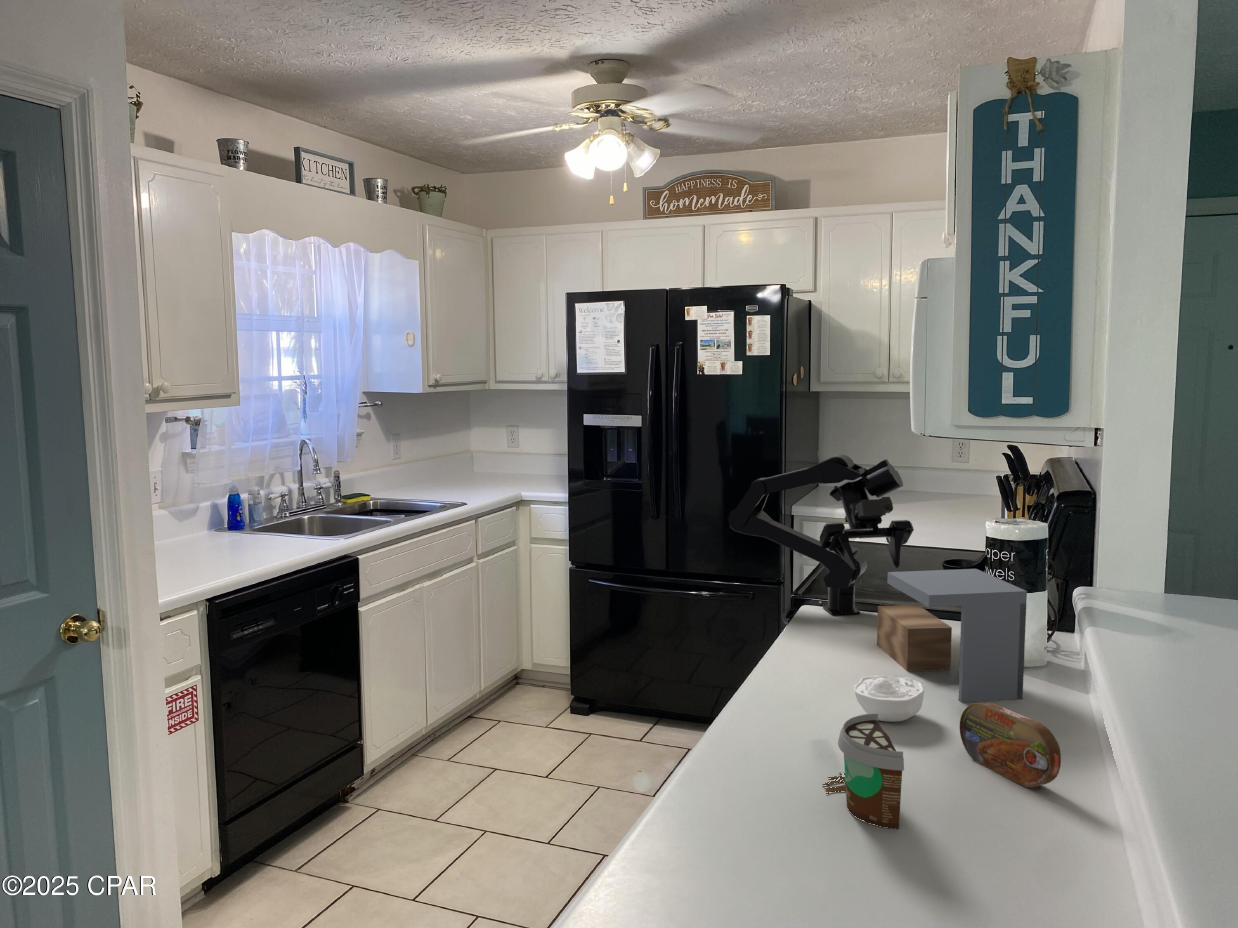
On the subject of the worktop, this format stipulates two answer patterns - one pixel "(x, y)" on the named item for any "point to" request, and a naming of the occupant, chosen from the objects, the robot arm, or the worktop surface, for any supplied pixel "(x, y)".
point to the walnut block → (914, 638)
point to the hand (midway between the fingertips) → (876, 567)
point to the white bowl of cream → (890, 696)
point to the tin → (1010, 744)
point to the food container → (871, 771)
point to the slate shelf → (978, 627)
